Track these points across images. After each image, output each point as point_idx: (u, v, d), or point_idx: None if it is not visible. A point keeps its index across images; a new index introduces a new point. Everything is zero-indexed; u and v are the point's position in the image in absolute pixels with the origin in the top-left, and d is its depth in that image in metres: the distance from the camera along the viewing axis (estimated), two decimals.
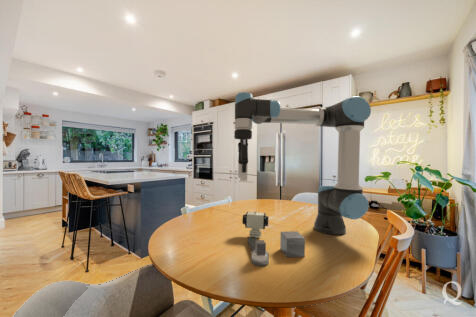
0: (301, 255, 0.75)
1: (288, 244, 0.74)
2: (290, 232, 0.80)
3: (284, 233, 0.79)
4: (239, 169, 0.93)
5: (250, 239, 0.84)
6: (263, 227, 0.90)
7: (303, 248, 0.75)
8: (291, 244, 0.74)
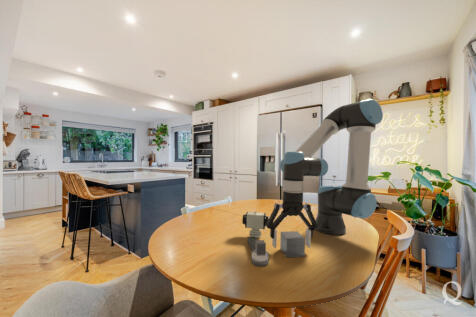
0: (301, 255, 0.75)
1: (288, 244, 0.74)
2: (290, 232, 0.80)
3: (284, 233, 0.79)
4: (306, 235, 0.79)
5: (250, 239, 0.84)
6: (263, 227, 0.90)
7: (303, 248, 0.75)
8: (291, 244, 0.74)
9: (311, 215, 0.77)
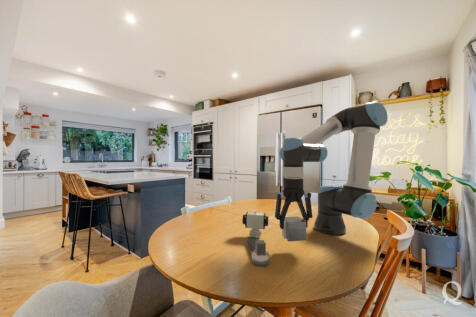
0: (303, 239, 0.75)
1: (290, 228, 0.74)
2: (291, 217, 0.80)
3: (285, 218, 0.79)
4: None
5: (250, 239, 0.84)
6: (263, 227, 0.90)
7: (305, 232, 0.75)
8: (293, 228, 0.74)
9: (309, 204, 0.78)
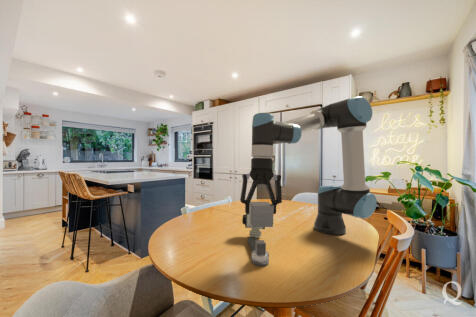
0: (269, 225, 0.67)
1: (254, 212, 0.67)
2: (259, 202, 0.72)
3: (252, 202, 0.71)
4: None
5: (250, 239, 0.84)
6: (263, 227, 0.90)
7: (271, 218, 0.67)
8: (258, 212, 0.67)
9: (278, 187, 0.70)
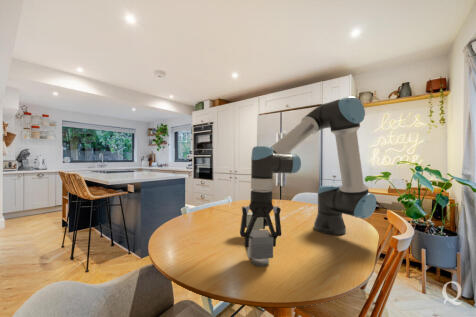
0: (269, 256, 0.67)
1: (254, 244, 0.66)
2: (259, 231, 0.72)
3: (252, 232, 0.71)
4: None
5: None
6: (263, 227, 0.90)
7: (271, 249, 0.67)
8: (258, 244, 0.67)
9: (278, 220, 0.70)
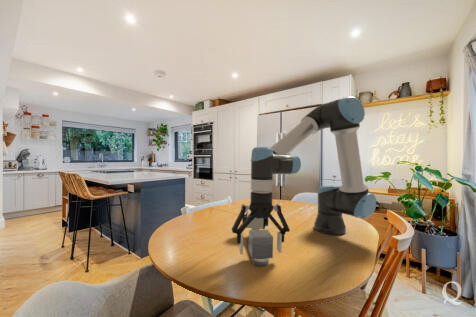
0: (269, 256, 0.67)
1: (254, 244, 0.66)
2: (259, 231, 0.72)
3: (252, 232, 0.71)
4: (277, 239, 0.72)
5: None
6: (263, 227, 0.90)
7: (271, 249, 0.67)
8: (258, 244, 0.67)
9: (282, 217, 0.70)
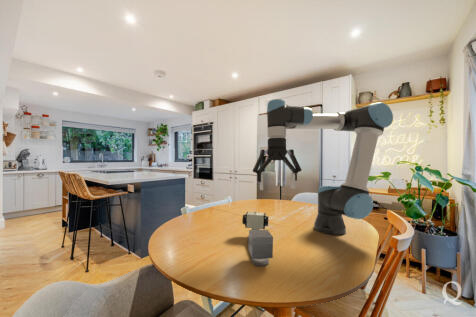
0: (269, 256, 0.67)
1: (254, 244, 0.66)
2: (259, 231, 0.72)
3: (252, 232, 0.71)
4: (291, 179, 0.85)
5: None
6: (263, 227, 0.90)
7: (271, 249, 0.67)
8: (258, 244, 0.67)
9: (294, 159, 0.83)
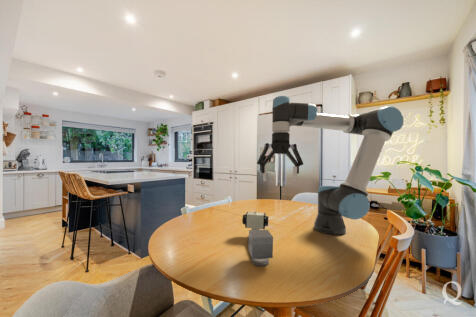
0: (269, 256, 0.67)
1: (254, 244, 0.66)
2: (259, 231, 0.72)
3: (252, 232, 0.71)
4: (293, 172, 0.89)
5: None
6: (263, 227, 0.90)
7: (271, 249, 0.67)
8: (258, 244, 0.67)
9: (297, 153, 0.87)
